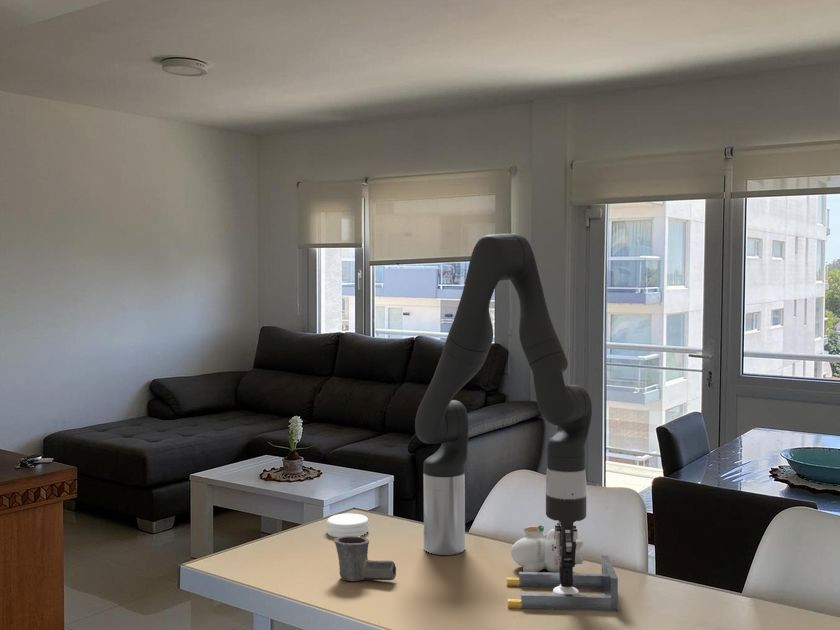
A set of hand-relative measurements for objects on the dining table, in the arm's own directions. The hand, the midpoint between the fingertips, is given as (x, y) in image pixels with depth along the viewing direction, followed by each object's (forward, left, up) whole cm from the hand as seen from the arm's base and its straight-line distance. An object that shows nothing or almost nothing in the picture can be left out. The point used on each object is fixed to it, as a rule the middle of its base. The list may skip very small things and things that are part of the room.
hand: (566, 583), depth 148 cm
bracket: (0, -1, -3) cm, 3 cm away
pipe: (-6, -39, -3) cm, 40 cm away
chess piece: (0, 0, -2) cm, 2 cm away
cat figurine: (-14, -3, -3) cm, 15 cm away
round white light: (-37, -49, -3) cm, 61 cm away
